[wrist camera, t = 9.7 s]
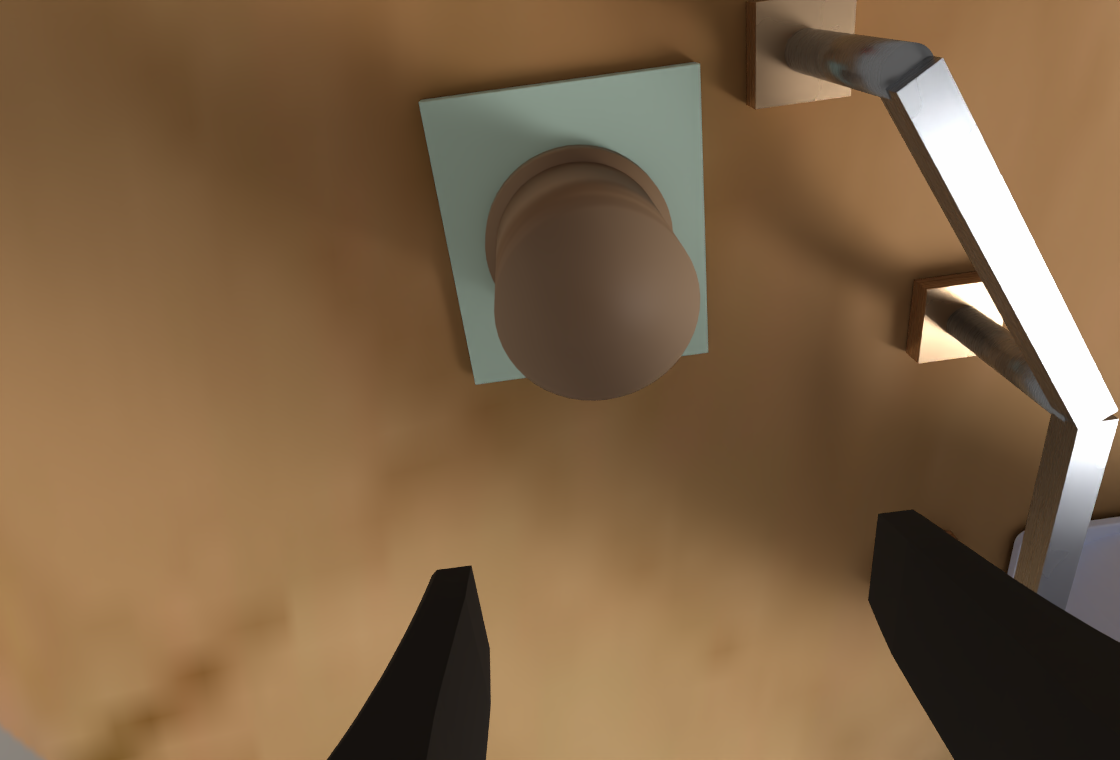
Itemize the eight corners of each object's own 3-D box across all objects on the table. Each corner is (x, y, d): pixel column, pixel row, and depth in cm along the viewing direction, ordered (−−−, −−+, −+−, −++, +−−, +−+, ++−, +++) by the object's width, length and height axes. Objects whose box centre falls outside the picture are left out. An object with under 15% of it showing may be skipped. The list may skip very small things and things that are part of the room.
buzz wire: (1046, -41, 18) (1293, -52, 12) (942, 579, 28) (1054, 733, 22) (746, 1, 18) (856, 8, 12) (746, 607, 28) (809, 766, 22)
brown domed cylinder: (663, 132, 19) (711, 176, 15) (673, 310, 21) (716, 395, 17) (470, 159, 19) (459, 211, 15) (501, 334, 21) (500, 425, 17)
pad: (695, 61, 19) (700, 63, 18) (704, 345, 22) (708, 352, 22) (420, 99, 19) (418, 102, 18) (476, 377, 22) (475, 384, 22)
